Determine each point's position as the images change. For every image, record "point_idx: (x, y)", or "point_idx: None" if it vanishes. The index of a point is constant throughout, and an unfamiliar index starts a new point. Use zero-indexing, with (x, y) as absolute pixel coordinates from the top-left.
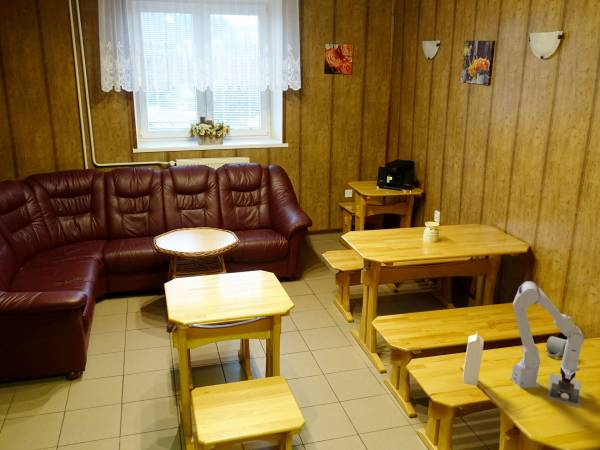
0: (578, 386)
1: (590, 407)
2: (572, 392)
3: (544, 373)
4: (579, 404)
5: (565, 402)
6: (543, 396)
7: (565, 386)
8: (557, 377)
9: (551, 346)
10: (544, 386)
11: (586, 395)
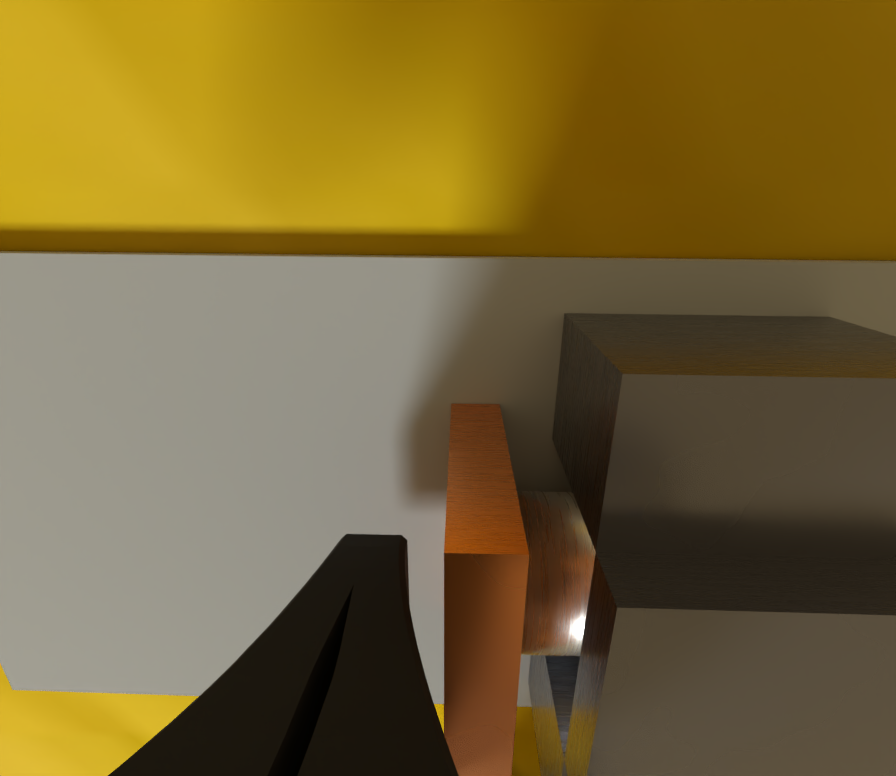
0: (81, 292)
1: (858, 16)
2: (867, 538)
3: (70, 726)
4: (854, 273)
5: None
6: None
7: (750, 743)
8: (54, 611)
9: None
10: (440, 722)
11: (329, 116)
